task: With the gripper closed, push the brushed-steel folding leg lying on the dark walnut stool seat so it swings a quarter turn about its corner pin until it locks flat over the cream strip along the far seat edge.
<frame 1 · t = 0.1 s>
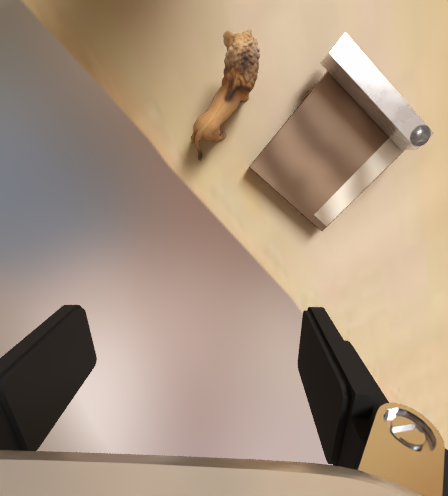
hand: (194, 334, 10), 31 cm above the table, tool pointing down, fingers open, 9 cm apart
lion figurine: (222, 108, 35), on the table
stool seat: (326, 151, 36), on the table
folding leg: (376, 98, 30), point 4 cm above the table, hinge at 0.0°
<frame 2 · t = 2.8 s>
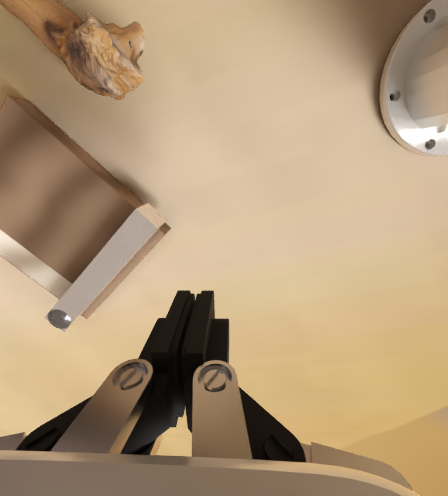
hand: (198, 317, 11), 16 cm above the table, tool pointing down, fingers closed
lion figurine: (101, 51, 22), on the table
stool seat: (68, 219, 27), on the table
folding leg: (103, 270, 25), point 4 cm above the table, hinge at 0.0°
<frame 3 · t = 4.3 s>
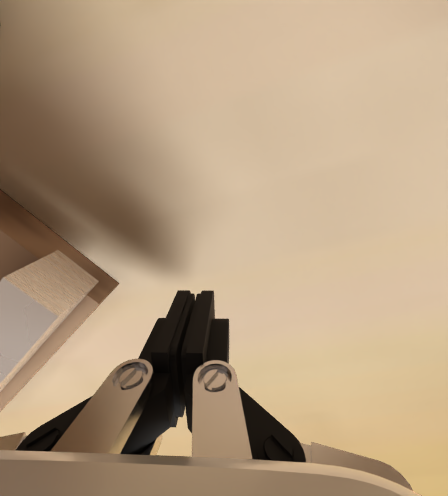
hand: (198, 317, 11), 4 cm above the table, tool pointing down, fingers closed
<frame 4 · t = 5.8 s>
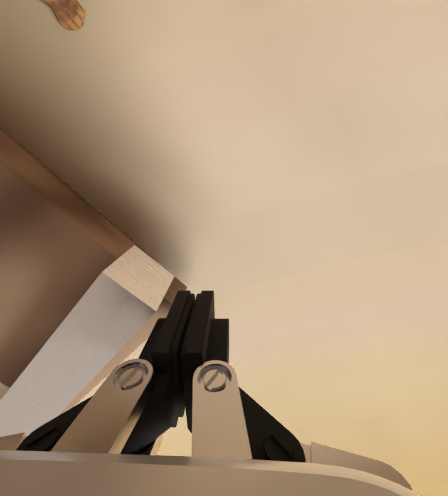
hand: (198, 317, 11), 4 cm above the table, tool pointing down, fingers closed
stool seat: (2, 271, 15), on the table
folding leg: (52, 379, 12), point 4 cm above the table, hinge at 2.7°, touching gripper
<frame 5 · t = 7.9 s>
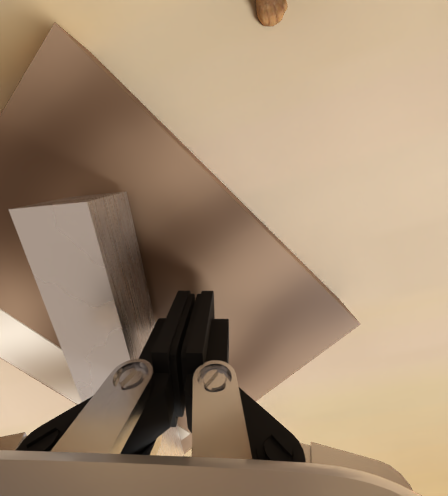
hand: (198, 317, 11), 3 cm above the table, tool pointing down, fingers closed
stool seat: (146, 286, 15), on the table
folding leg: (127, 375, 11), point 4 cm above the table, hinge at 49.4°, touching gripper
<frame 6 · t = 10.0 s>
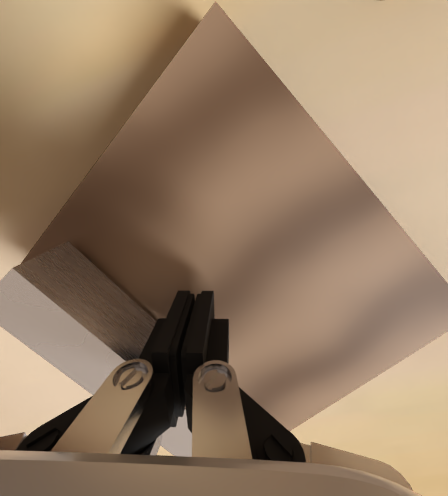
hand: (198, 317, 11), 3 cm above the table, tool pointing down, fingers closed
stool seat: (240, 275, 14), on the table
folding leg: (167, 387, 12), point 4 cm above the table, hinge at 84.8°, touching gripper
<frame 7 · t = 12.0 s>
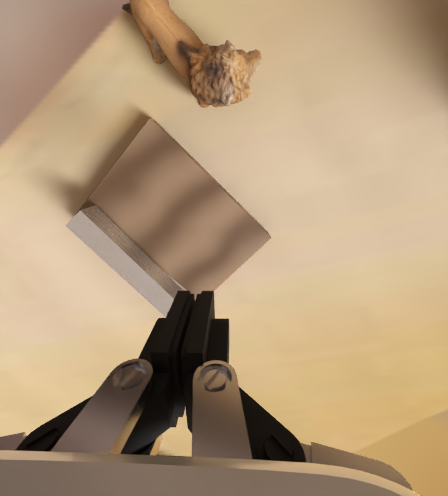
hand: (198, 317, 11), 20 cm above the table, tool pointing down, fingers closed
lion figurine: (194, 64, 25), on the table
stool seat: (175, 225, 30), on the table
folding leg: (137, 268, 28), point 4 cm above the table, hinge at 85.0°
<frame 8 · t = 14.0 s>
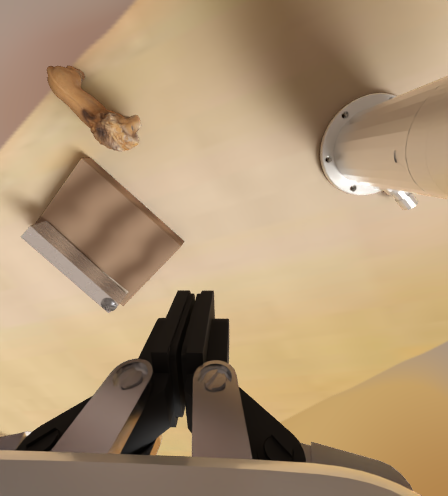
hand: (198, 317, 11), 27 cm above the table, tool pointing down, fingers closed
lion figurine: (112, 114, 33), on the table
stool seat: (112, 235, 39), on the table
folding leg: (78, 268, 36), point 4 cm above the table, hinge at 85.0°
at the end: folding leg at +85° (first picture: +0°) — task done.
